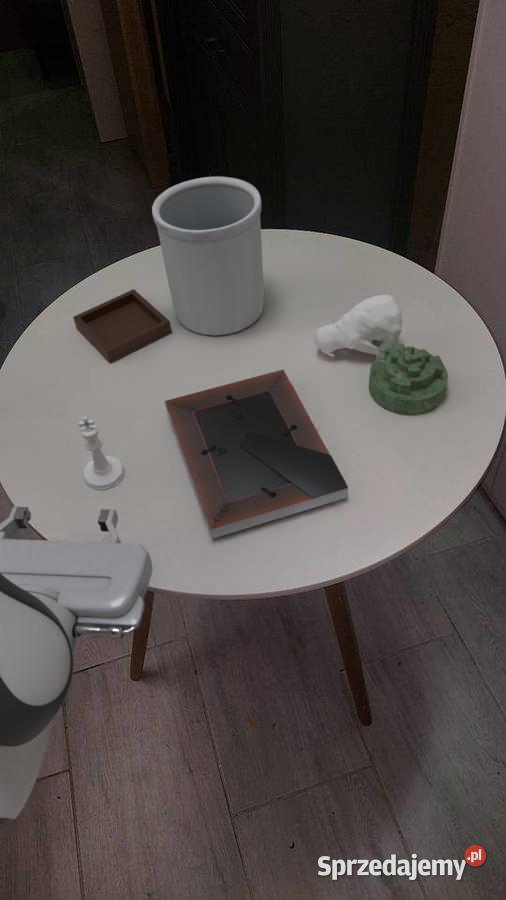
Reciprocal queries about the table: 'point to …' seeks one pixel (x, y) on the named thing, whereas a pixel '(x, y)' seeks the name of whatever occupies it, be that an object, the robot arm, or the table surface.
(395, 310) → the white animal figurine
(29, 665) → the robot arm
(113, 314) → the dark tray
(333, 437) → the table surface
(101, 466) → the chess piece
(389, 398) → the decorative artifact
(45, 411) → the table surface
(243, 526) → the picture frame
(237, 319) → the utensil holder
